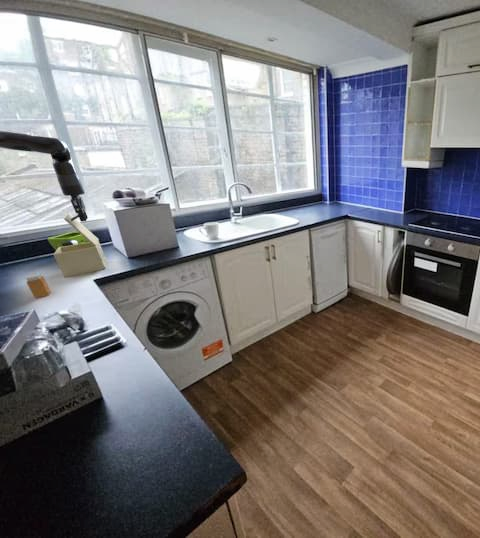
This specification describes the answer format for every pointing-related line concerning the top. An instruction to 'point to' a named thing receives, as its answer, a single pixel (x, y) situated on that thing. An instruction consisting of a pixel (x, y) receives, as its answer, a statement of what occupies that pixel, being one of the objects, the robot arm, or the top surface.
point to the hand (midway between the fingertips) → (84, 219)
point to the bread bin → (80, 259)
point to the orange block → (38, 285)
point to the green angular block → (66, 239)
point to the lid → (81, 229)
